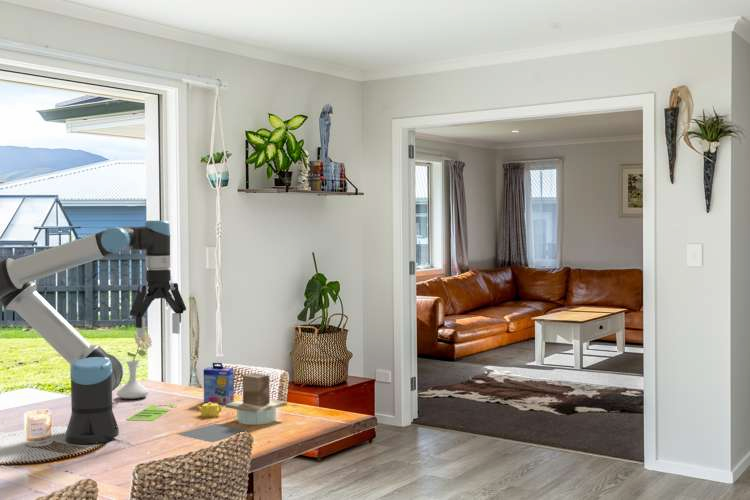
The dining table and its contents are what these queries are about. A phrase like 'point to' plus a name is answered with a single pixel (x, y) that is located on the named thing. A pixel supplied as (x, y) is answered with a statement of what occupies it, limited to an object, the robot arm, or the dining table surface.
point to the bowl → (256, 417)
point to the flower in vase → (133, 386)
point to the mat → (213, 432)
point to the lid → (256, 395)
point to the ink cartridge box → (218, 384)
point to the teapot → (210, 409)
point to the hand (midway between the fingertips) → (159, 335)
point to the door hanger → (149, 414)
